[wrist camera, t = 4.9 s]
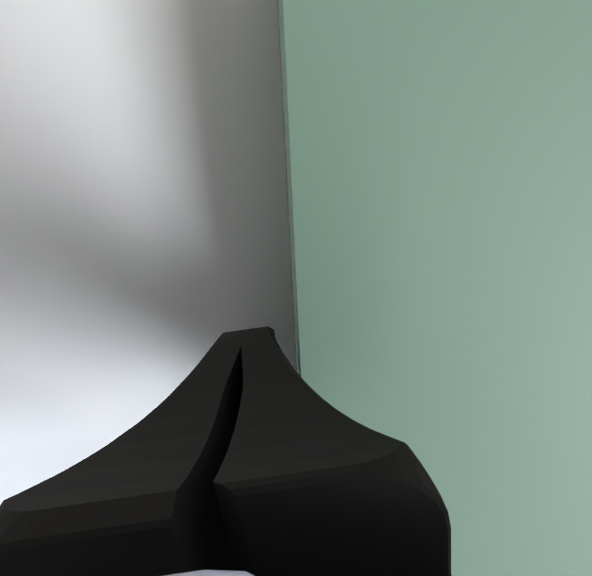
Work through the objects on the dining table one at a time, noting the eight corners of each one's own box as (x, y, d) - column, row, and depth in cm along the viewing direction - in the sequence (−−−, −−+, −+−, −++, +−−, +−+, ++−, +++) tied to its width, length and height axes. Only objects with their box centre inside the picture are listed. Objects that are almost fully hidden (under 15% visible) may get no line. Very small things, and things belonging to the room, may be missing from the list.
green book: (303, 508, 17) (312, 608, 14) (275, -19, 11) (280, -60, 8) (633, 482, 18) (714, 572, 14) (794, -41, 11) (1004, -88, 8)
